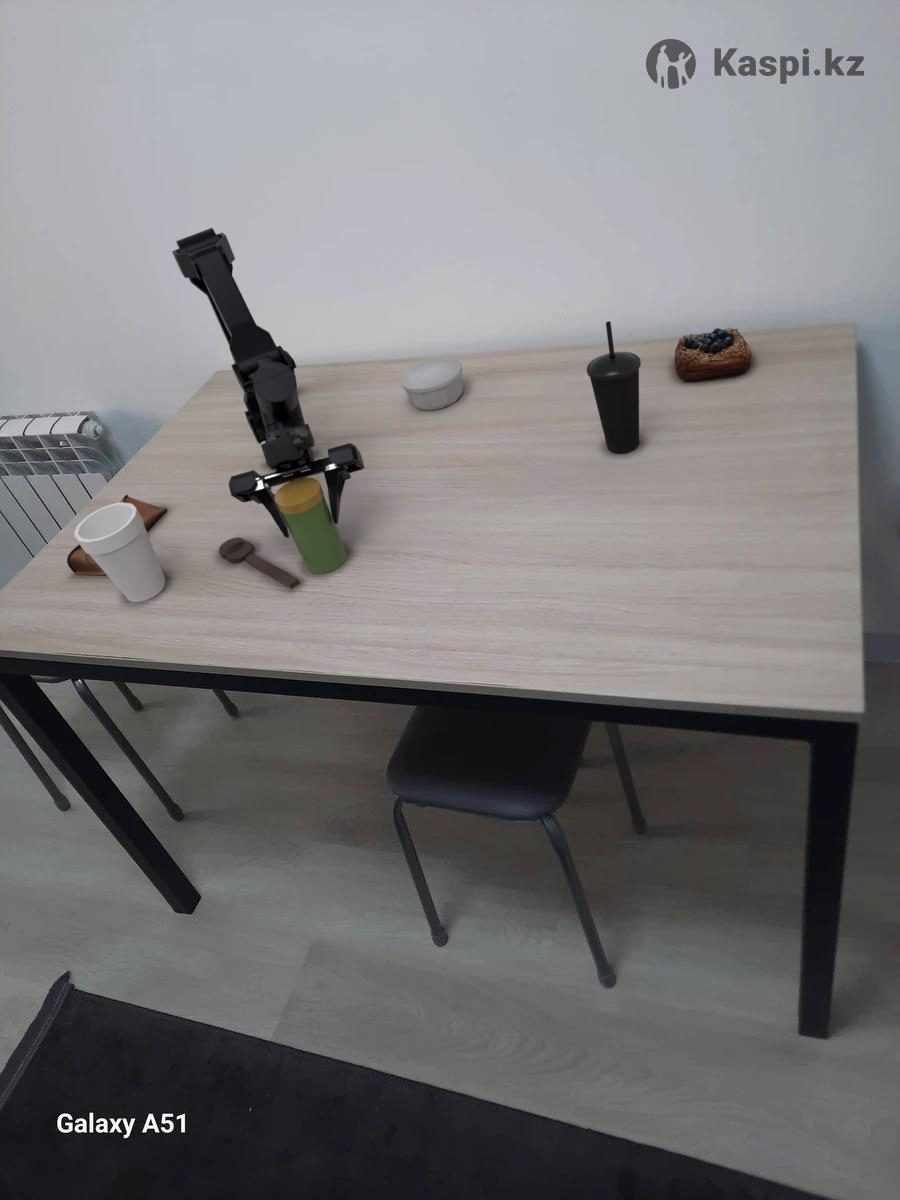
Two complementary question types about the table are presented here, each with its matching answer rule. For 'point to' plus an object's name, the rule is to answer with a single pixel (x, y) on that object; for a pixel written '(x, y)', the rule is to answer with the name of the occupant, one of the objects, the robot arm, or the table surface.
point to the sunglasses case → (86, 564)
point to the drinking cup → (617, 396)
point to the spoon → (254, 560)
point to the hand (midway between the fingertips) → (311, 530)
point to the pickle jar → (311, 525)
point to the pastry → (712, 356)
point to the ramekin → (433, 383)
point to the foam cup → (122, 550)
